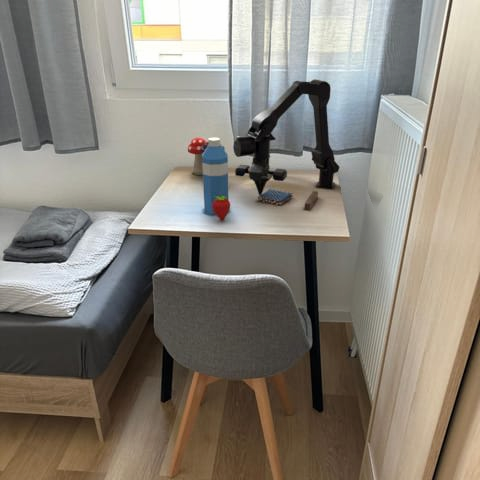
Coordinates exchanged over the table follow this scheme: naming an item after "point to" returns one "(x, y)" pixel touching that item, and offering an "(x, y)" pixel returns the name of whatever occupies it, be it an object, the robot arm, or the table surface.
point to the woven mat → (275, 196)
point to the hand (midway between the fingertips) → (260, 195)
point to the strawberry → (221, 207)
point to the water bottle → (214, 173)
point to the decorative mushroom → (197, 154)
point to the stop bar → (311, 200)
